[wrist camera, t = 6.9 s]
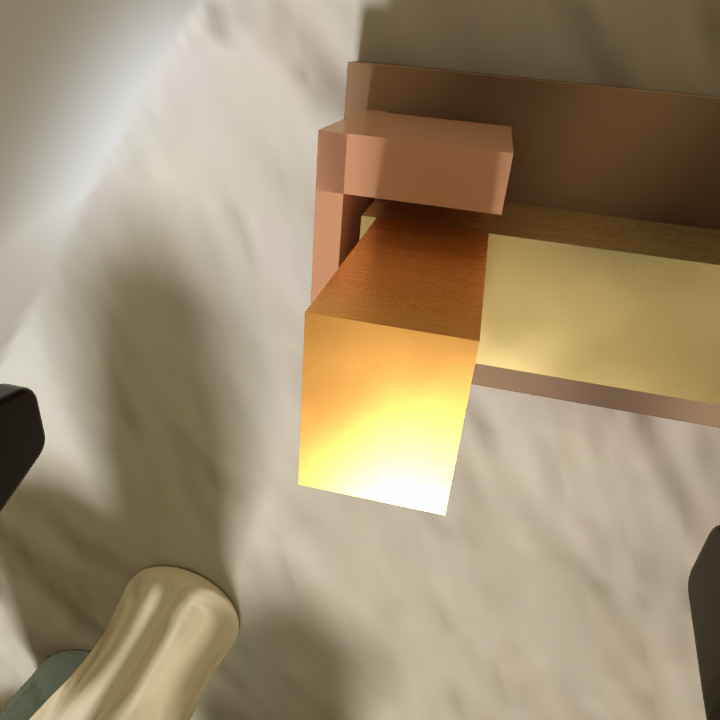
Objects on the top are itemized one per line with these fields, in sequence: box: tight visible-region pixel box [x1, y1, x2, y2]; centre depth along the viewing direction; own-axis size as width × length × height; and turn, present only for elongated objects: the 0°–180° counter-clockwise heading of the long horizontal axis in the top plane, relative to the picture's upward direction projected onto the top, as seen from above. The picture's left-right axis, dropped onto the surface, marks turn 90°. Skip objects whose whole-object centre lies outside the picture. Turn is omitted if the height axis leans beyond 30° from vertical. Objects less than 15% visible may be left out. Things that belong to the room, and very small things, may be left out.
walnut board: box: [344, 61, 720, 428], centre depth 17 cm, size 20×9×1 cm, turn 86°
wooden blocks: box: [298, 198, 720, 515], centre depth 12 cm, size 12×3×9 cm, turn 86°
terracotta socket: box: [311, 109, 514, 304], centre depth 15 cm, size 4×7×5 cm, turn 175°
